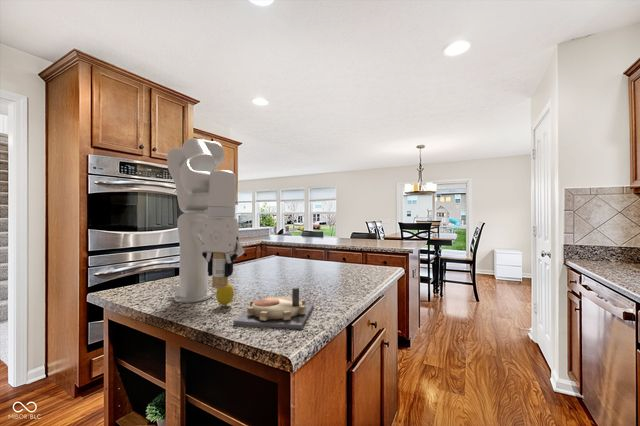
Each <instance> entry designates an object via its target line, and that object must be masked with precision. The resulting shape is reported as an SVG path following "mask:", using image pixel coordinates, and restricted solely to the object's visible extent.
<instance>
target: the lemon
mask: <svg viewBox="0 0 640 426" xmlns="http://www.w3.org/2000/svg"><path fill="white" fill-rule="evenodd" d="M234 292H235V291H234V287H233V286H232V284H231V283H228V286H227V287H224V288H216V301H217V303H218V304H220V305H222V306H224V307H226V306H227V305H229V304H230V303H231V302H232V301H233V299H234V296H235V295H234V294H235V293H234Z"/></svg>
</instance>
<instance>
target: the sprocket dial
mask: <svg viewBox="0 0 640 426" xmlns="http://www.w3.org/2000/svg"><path fill="white" fill-rule="evenodd" d="M291 288H292V289H291V290H292V292H291V295H292V296H291V295H286V296H271V295H270V296H266V297H264V298H259V299H256V300H254V299H253V300H251V301H249V306H247V308H246V309H247V310H246V311H247V314H248V315H249V316H251V315H254V316H256V317H259V318H260V320H264V321H266V320H267V319H284V320H288V319H291V317H293V316H296V315H298V314H304V313H305V312H306V306H305V303H306V300H305V299H303V298H301V299H300V288H299V287H291Z"/></svg>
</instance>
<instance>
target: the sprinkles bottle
mask: <svg viewBox="0 0 640 426" xmlns="http://www.w3.org/2000/svg"><path fill="white" fill-rule="evenodd" d="M225 263H227V260H226V255H225V253H213V265H212V276H211V277H212V284H211V288H214V289H218V288H224V287H227V286H228V284H229V283H228V282H229V277H225Z"/></svg>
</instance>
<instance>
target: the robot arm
mask: <svg viewBox="0 0 640 426" xmlns="http://www.w3.org/2000/svg"><path fill="white" fill-rule="evenodd" d="M224 158H225V150H224V148H223V145H222V144H221V143H219V142H217V141H213V140H207V139H202V138H189V139H186V140H184V142H183V144H182V147H174V148H171V149H170V150H169V151H168V152H167V157H166V162H167V163H166V164H167V170H168V172H169V175H170V176H171V179H172V181H173V183H174V185H175V190H176V196H177V197H176V198H177V203H178V207H179V210H180V211H181V212H182V214H181V215H179V216H178V218H177V221H176V222H177V223H176V225H177V233H178V241H179V242H178V243H179V269H178V270H179V274H178V278H179V279H178V282H179V283H178V284H179V285H173V286H171V288H170V289H169V291H170V293H176V294H175V295H174V297H173V298H174V299H173V301H175V302H176V303H184V304H187V303H189V304H190V303H199V302H202V301H206V300H209V299H210V298H212V296H213V293H212V292H211V291H208V284H209V283H208V280H209V279H208V278H209V277H212V265H213V253H225V255H226V260H227V263H225V277H228V278H229V277H231V276H232V275H233V273H234V262H235V261H236V260H237V259H238V258H239V257H240V256H242V255H243V254H244V253H245V252H246V251H245V249H244V248H243V246H242V245H241V243H240V231H239V230H240V229H239V228H240V227H239V222H238V218H237V217H236V192H237V191H236V190H237V187H236V186H237V176H236V174H235V172H234V171H231V170H224V169H216V168H218V167H219V166H220V165H221V164H222V163H223V161H224V160H225V159H224ZM234 252H235V253H234Z"/></svg>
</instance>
